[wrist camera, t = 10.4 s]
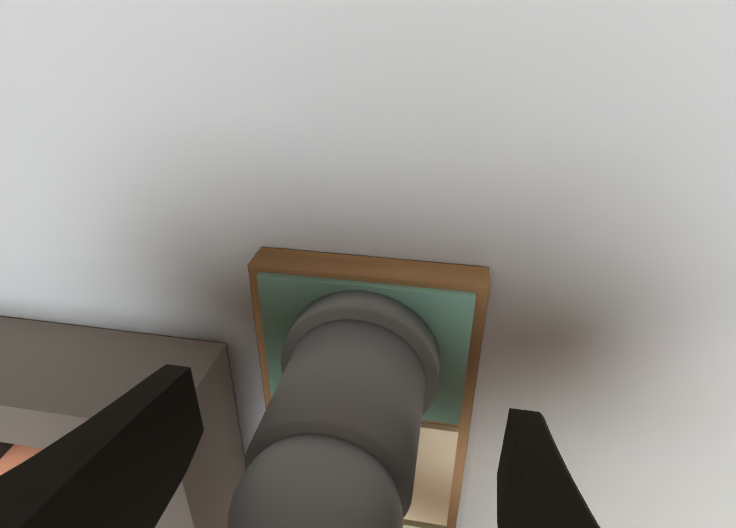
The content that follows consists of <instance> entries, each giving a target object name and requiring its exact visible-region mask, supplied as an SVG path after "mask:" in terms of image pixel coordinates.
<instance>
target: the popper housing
mask: <svg viewBox="0 0 736 528" xmlns="http://www.w3.org/2000/svg"><path fill="white" fill-rule="evenodd" d="M166 364H169V365H177V366H185V367H191V371H192V376H193V380H194V385H195V390H196V395H197V399H198V404H199V409H200V413H201V418H202V423H203V427H204V432H203V434H202V437H201V439H200V442H199V444H198V447H197V449H196V452H195V454H194V456H193V459H192V461H191V463H190V465H189V468H188V470H187V472H186V474H185V476H184V478H183V479H182V481H181V483H180V485H179V486H178V488H177V490H176V492H175V494H174V495H173V497H172V499H171V501H170V502H169V504H168V506H167V508H166V509H165V511H164V513H163V514H162V516H161V518H160V520H159V521H158V523H157V525H156V527H155V528H227V520H228V512H229V507H230V503H231V500H232V497H233V494H234V491H235V489H236V486H237V484H238V482H239V481H240V479H241V477H242V475H243V474H244V472H245V457H244V451H243V445H242V439H241V433H240V427H239V421H238V415H237V409H236V403H235V397H234V391H233V385H232V378H231V372H230V366H229V360H228V354H227V348H226V343H217V342H209V341H201V340H192V339H184V338H176V337H167V336H159V335H151V334H142V333H134V332H126V331H117V330H109V329H101V328H92V327H84V326H76V325H67V324H59V323H51V322H42V321H34V320H26V319H18V318H9V317H1V316H0V459H1V458H2V457H3V456H4V455H5V453H6V452H7V451H8V450H9V449H10V448H11V447H12V446H13V445H14V444H17V445H23V446H29V447H35V448H42V449H44V448H46V447H47V446H49V445H51V444H52V443H54V442H55V441H57V440H58V439H60V438H61V437H63V436H64V435H66V434H67V433H69V432H70V431H72V430H73V429H75V428H77V427H78V426H80V425H81V424H82V423H84V422H85V421H87V420H88V419H90V418H91V417H92V416H94V415H95V414H97V413H98V412H100V411H101V410H102V409H104V408H105V407H107V406H108V405H109V404H111V403H112V402H114V401H115V400H116V399H118V398H119V397H121V396H122V395H123V394H125V393H126V392H128V391H129V390H130V389H132V388H133V387H134V386H136V385H137V384H139V383H140V382H141V381H143V380H144V379H146V378H147V377H148V376H150V375H151V374H153V373H154V372H155V371H157V370H158V369H160V368H161V367H163V366H164V365H166Z"/></svg>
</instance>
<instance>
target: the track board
mask: <svg viewBox="0 0 736 528" xmlns="http://www.w3.org/2000/svg"><path fill="white" fill-rule="evenodd" d="M248 272H249V280H250V288H251V296H252V304H253V312H254V320H255V327H256V335H257V343H258V351H259V359H260V367H261V375H262V383H263V390H264V398H265V406H266V409H267V407H268V405H269V403H270V401H271V398H272V396H273V394H274V392H275V390H276V388H277V386H278V383H279V381H280V379H281V377H282V375H283V374H282V369H281V352H282V348H283V345H284V342H285V340H286V338H287V336H288V334H289V332H290V330H291V328H292V326H293V324H294V322H295V320H296V319H297V317H298V315H299V314H300V313H301V312H302V310H303V309H304V308H305V307H307V306H308V305H309V304H310V303H312V302H313V301H315V300H316V299H318V298H320V297H322V296H325V295H328V294H331V293H335V292H340V291H349V290H360V291H369V292H375V293H378V294H382V295H385V296H388V297H391V298H393V299H395V300H397V301H399V302H401V303H403V304H405V305H406V306H408V307H409V308H411V309H412V310H413V311H414V312H416V313H417V314H418V315H419V316H420V317H421V318H422V319H423V320H424V321H425V322H426V323H427V325H428V326H429V328H430V329H431V331H432V332H433V334H434V336H435V338H436V341H437V344H438V347H439V352H440V369H439V381H438V388H437V393H436V396H435V399H434V401H433V403H432V404H431V406H430V408H429V409H428V410H427V411H426V412H425V414H423V415H422V420H421V428H420V437H419V445H418V454H417V462H416V470H415V479H414V487H413V496H412V502H411V506H410V508H409V511H408V512H407V514H406V515H405V517H404V518H403V528H455V527H456V520H457V513H458V506H459V499H460V492H461V485H462V478H463V471H464V464H465V457H466V450H467V443H468V436H469V429H470V422H471V415H472V408H473V400H474V393H475V386H476V379H477V372H478V365H479V358H480V351H481V344H482V337H483V330H484V323H485V316H486V309H487V302H488V295H489V268H488V267H478V266H467V265H456V264H445V263H434V262H422V261H411V260H400V259H389V258H378V257H367V256H356V255H345V254H334V253H323V252H312V251H300V250H289V249H278V248H267V247H261V248H260V249H259V251H258V252H257V253H256V255H255V256H254V257H253V259H252V260H251V261H250V263H249V264H248Z"/></svg>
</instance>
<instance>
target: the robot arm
mask: <svg viewBox="0 0 736 528" xmlns="http://www.w3.org/2000/svg"><path fill="white" fill-rule="evenodd" d="M203 432H204V427H203V423H202V418H201V413H200V409H199V404H198V399H197V395H196V390H195V385H194V380H193V376H192V371H191V367H185V366H177V365H169V364H166V365H164V366H163V367H161V368H160V369H158V370H157V371H155V372H154V373H153V374H151V375H150V376H148V377H147V378H146V379H144V380H143V381H141V382H140V383H139V384H137V385H136V386H134V387H133V388H132V389H130V390H129V391H128V392H126V393H125V394H123V395H122V396H121V397H119V398H118V399H116V400H115V401H114V402H112V403H111V404H109V405H108V406H107V407H105V408H104V409H102V410H101V411H100V412H98V413H97V414H95V415H94V416H92V417H91V418H90V419H88V420H87V421H85V422H84V423H82V424H81V425H80V426H78V427H77V428H75V429H73V430H72V431H70V432H69V433H67V434H66V435H64V436H63V437H61V438H60V439H58V440H57V441H55V442H54V443H52V444H51V445H49V446H47V447H46V448H44V449H43V450H41V451H40V452H38V453H37V454H35V455H34V456H32V457H30V458H29V459H27V460H25V461H24V462H22V463H21V464H19V465H17V466H15V467H14V468H12V469H10V470H9V471H7V472H5V473H4V474H2V475H0V528H155V527H156V525H157V523H158V521H159V520H160V518H161V516H162V514H163V513H164V511H165V509H166V508H167V506H168V504H169V502H170V501H171V499H172V497H173V495H174V494H175V492H176V490H177V488H178V486H179V485H180V483H181V481H182V479H183V478H184V476H185V474H186V472H187V470H188V468H189V465H190V463H191V461H192V459H193V456H194V454H195V452H196V449H197V447H198V444H199V442H200V439H201V437H202V434H203ZM497 524H498V528H600V527H599V525H598V523H597V522H596V520H595V518H594V516H593V515H592V513H591V511H590V509H589V508H588V506H587V504H586V502H585V500H584V499H583V497H582V495H581V493H580V491H579V490H578V488H577V486H576V484H575V482H574V480H573V479H572V477H571V475H570V473H569V471H568V469H567V467H566V465H565V463H564V461H563V459H562V457H561V455H560V453H559V451H558V448H557V446H556V444H555V442H554V440H553V438H552V435H551V433H550V431H549V428H548V426H547V424H546V421H545V418H544V417H543V415H542V414H541V413H540V412H535V411H527V410H519V409H512V408H510V409H509V414H508V419H507V425H506V430H505V435H504V440H503V446H502V451H501V456H500V461H499V467H498V472H497Z"/></svg>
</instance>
